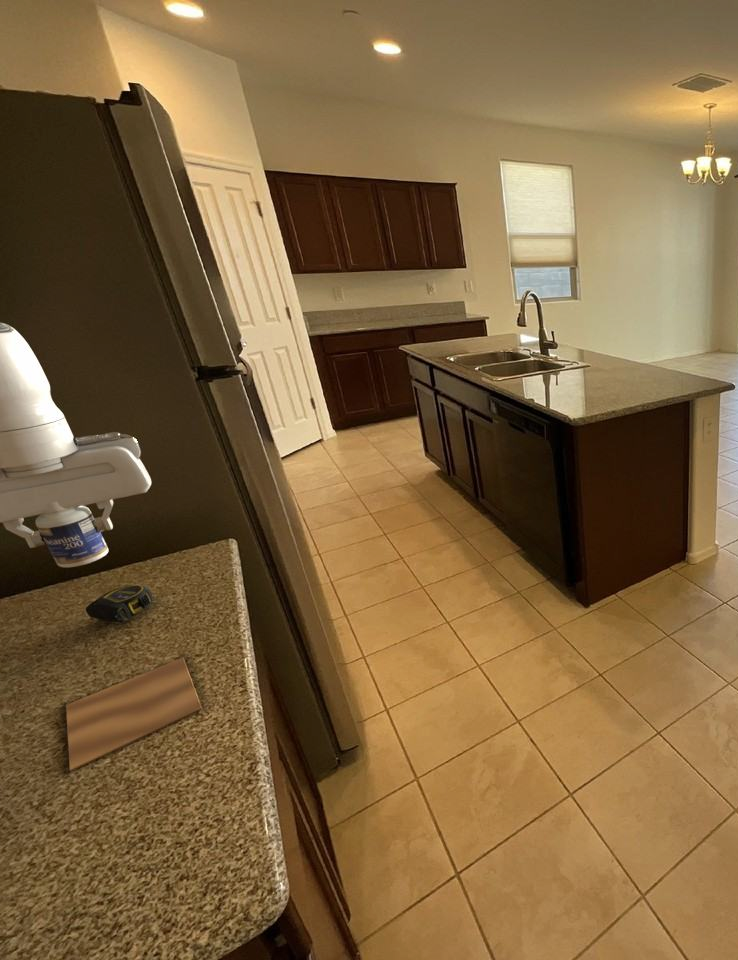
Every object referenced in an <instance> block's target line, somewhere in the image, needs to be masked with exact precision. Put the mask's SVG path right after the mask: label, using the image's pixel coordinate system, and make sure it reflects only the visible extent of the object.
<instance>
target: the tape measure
mask: <svg viewBox="0 0 738 960" xmlns="http://www.w3.org/2000/svg"><path fill="white" fill-rule="evenodd" d="M153 599H154V595H153V593H152V591H151V590H150V588H148V587H147V586H145V585H144V584H127V585H123V586H120V587H117V588H114V589H112V590H110V591H107V592H106V593H104V594H103V595H101V596H100V597H98V598H97V599H96V600H94V601H93V602H91V603H89V604H88V605H87V606H86V607H85V611H86V614H87V615H88V617H89V618H92V619H97V620H108V621H113V622H119V623H125V622H128V621H129V620H130V619H131V618H132V617H134V616H136V615H139V614H141V613H143V612H145V611H146V610H147V609H149V607H151V605H152V604H153Z"/></svg>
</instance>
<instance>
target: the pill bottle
mask: <svg viewBox="0 0 738 960" xmlns="http://www.w3.org/2000/svg"><path fill="white" fill-rule="evenodd" d="M47 506H48V510H47V513H45V514H40V515H38V516H37V517H36V519H35V521H34V522H35V526H36V527H37V530H38V531H40V533H41V535H42V537H43V539H44V541H45V542H46V546H47V549H48V550H49V552H50V554H51V556H52V558H53V560H54V562H55V563H56V565H57V566H58V567H59V568H74V567H75V568H76V567H80V566H84V565H88V564H91V563H93V562H96V561H98V560H100V559H103V557H105V556H107V554H108V553H109V548H108V545H107V543H106V541H105V538H104V537H103V535H102V532H98V531H97V527H95V525H94V523H93V522H94V519H95V517H94V516H93V513H92V511H91V510H90V508H89V507H87V506H86V505H83V506H78V507H74V508H69V509H64V508H63V507H61V506H59V504H58V503H57V502H52V503H48V504H47Z"/></svg>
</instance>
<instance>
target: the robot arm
mask: <svg viewBox="0 0 738 960" xmlns="http://www.w3.org/2000/svg"><path fill="white" fill-rule="evenodd" d="M141 457H142V450H141V447H140V445H139V442H138V441H137V439H136V438H135V437H133V436H132V435H129V434H127V433H126V434H125V433H120V432H118V431H113V432H106V433H103V434H93V435H86V436H84V435H83V436H78V437H74V434H73V432H72V430H71V428H70V426H69V423H68V421H67V419H66V416H65V415H64V413H63V412H62V411H61V409H60V408H58V407H57V405H56V404H55V402H54V400H53V398H52V395H51V385H50V382H49V380H48V378H47V376H46V374H45V372H44V370H43V367H42V366H41V364H40V361H39V360H38V358H37V356H36V354H35V353H34V351H33V350H32V348H31V347H30V345H29V343H28V342H27V341H26V339H25V338H24V337H23V336H22V335H21V334H20V333H19V331H17V330H16V329H15V328H14V327H12V325H10V324H7V323H4V322H1V321H0V524H2V525H3V527H4V529H5V530H6V531H9V532H11V533H12V534H14V535H16V536H18V537H21V538H22V539H25V541H26V543H27V545H28V547H29V548H30V549H33V548H37V547H41V546H47V544H46V542H45V541H44V539H43V537H42V535H41V533H40V531H39V530H33V529H32V528H30V527H27V526H26V525H24V524H23V523H24V521H25V520H24V518H29V517H35V516H40V515H42V514H45V513H47V510H48V506H47V504H48V503H52V502H57V503H58V504H59V506H61V507H63V508H64V509H69V508H74V507H78V506H89V505H93V504H96V506H97V508H98V509H99V510H103V509H104V510H103V512H102V515H101V516H97V517H94V522H93V523H94V525H95V527H97V531H98V532H101V533H102V532H107V531H111V530H113V528H114V525H113V522H112V520H111V518H110V514H111V512H112V509H113V506H114V500H117V499H121V498H126V497H131V496H135V495H136V496H137V495H140V494H145V493H147V492H148V491H149V489H150V488H151V486H152V479H151V476H150V475H149V472H148V470H147V469H146V467H145V465H144V463H143V462H142V460H141Z"/></svg>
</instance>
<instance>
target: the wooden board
mask: <svg viewBox="0 0 738 960" xmlns="http://www.w3.org/2000/svg"><path fill="white" fill-rule="evenodd" d="M201 710H203V707H202V705H201V702H200V699H199V696H198V694H197V691H196V688H195V685H194V682H193V680H192V677H191V675H190V672H189V670H188V666H187V663H186V660H185V658H184V657H180V658H178V659H175V660H173V661H170V662H168V663H165V664H163V665H161V666H158V667H156V668H152V669H151V670H149V671H145V672H143V673H141V674H138V675H135V676H133V677H131V678H129V679H126V680H124V681H122V682H119V683H116V684H114V685H112V686H109V687H107V688H104V689H101V690H99V691H97V692H94V693H92V694H90V695H87V696H85V697H82V698H79V699H77V700H75V701H72V702H69V703H68V704H66V705H65V712H66V713H65V714H66V729H67V731H66V733H67V749H68V763H69V765H68V766H69V772H71V771H74V770H76V769H78V768H81V767H82V766H84V765H86V764H89V763H91V762H92V761H95V760H97V759H99V758H102V757H103V756H105V755H107V754H110V753H112V752H114V751H116V750H118V749H121V748H123V747H125V746H127V745H129V744H132V743H133V742H135V741H138V740H140V739H142V738H144V737H146V736H148V735H150V734H152V733H154V732H155V733H156V731H159V730H160V729H163V728H165V727H168V726H169V725H170V726H171V725H172V724H174V723H176V722H178V721H181V720H182V719H185V718H186V717H188V716H191V715H193V714H195V713H197V712H199V711H201Z"/></svg>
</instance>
